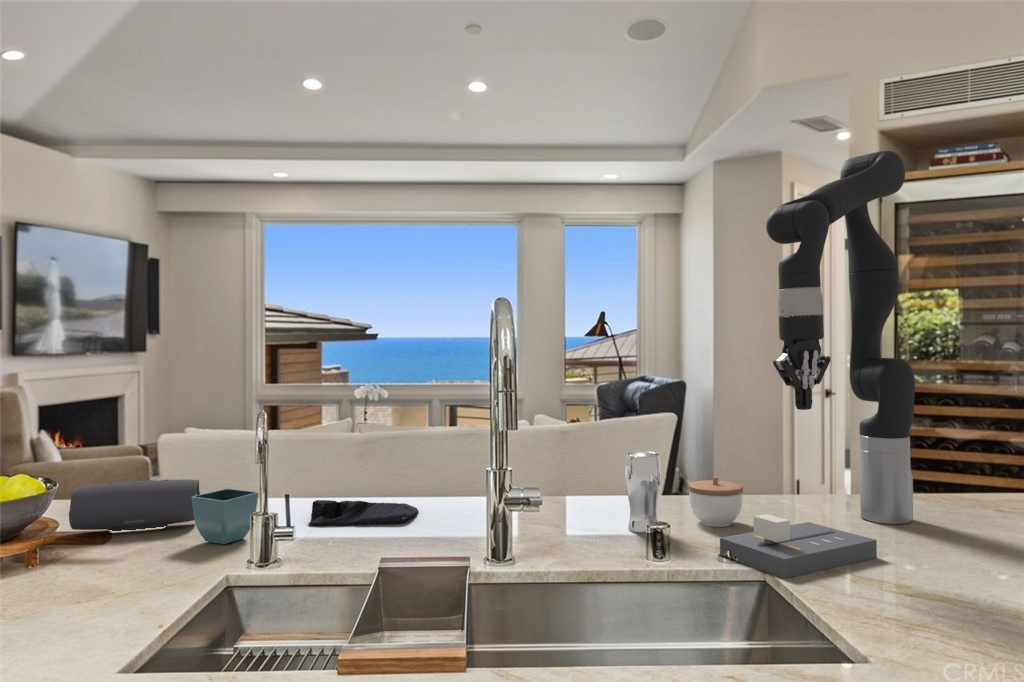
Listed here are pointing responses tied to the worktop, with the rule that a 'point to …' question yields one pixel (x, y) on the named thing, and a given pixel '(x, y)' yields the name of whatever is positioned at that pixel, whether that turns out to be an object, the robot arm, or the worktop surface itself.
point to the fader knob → (771, 528)
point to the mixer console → (800, 550)
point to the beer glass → (642, 488)
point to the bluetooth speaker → (132, 504)
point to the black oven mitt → (359, 513)
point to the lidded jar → (715, 501)
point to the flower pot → (224, 514)
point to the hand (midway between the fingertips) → (803, 409)
